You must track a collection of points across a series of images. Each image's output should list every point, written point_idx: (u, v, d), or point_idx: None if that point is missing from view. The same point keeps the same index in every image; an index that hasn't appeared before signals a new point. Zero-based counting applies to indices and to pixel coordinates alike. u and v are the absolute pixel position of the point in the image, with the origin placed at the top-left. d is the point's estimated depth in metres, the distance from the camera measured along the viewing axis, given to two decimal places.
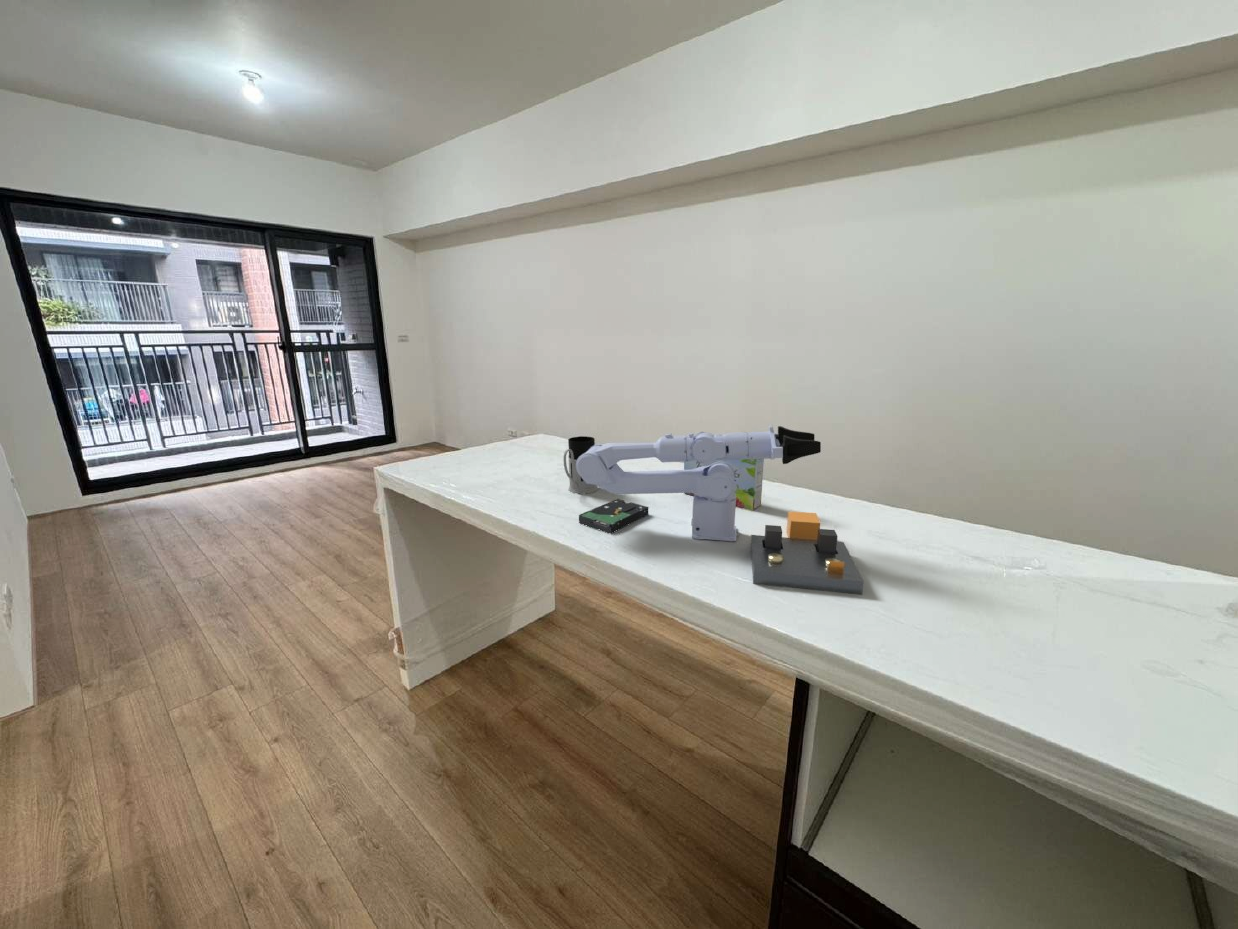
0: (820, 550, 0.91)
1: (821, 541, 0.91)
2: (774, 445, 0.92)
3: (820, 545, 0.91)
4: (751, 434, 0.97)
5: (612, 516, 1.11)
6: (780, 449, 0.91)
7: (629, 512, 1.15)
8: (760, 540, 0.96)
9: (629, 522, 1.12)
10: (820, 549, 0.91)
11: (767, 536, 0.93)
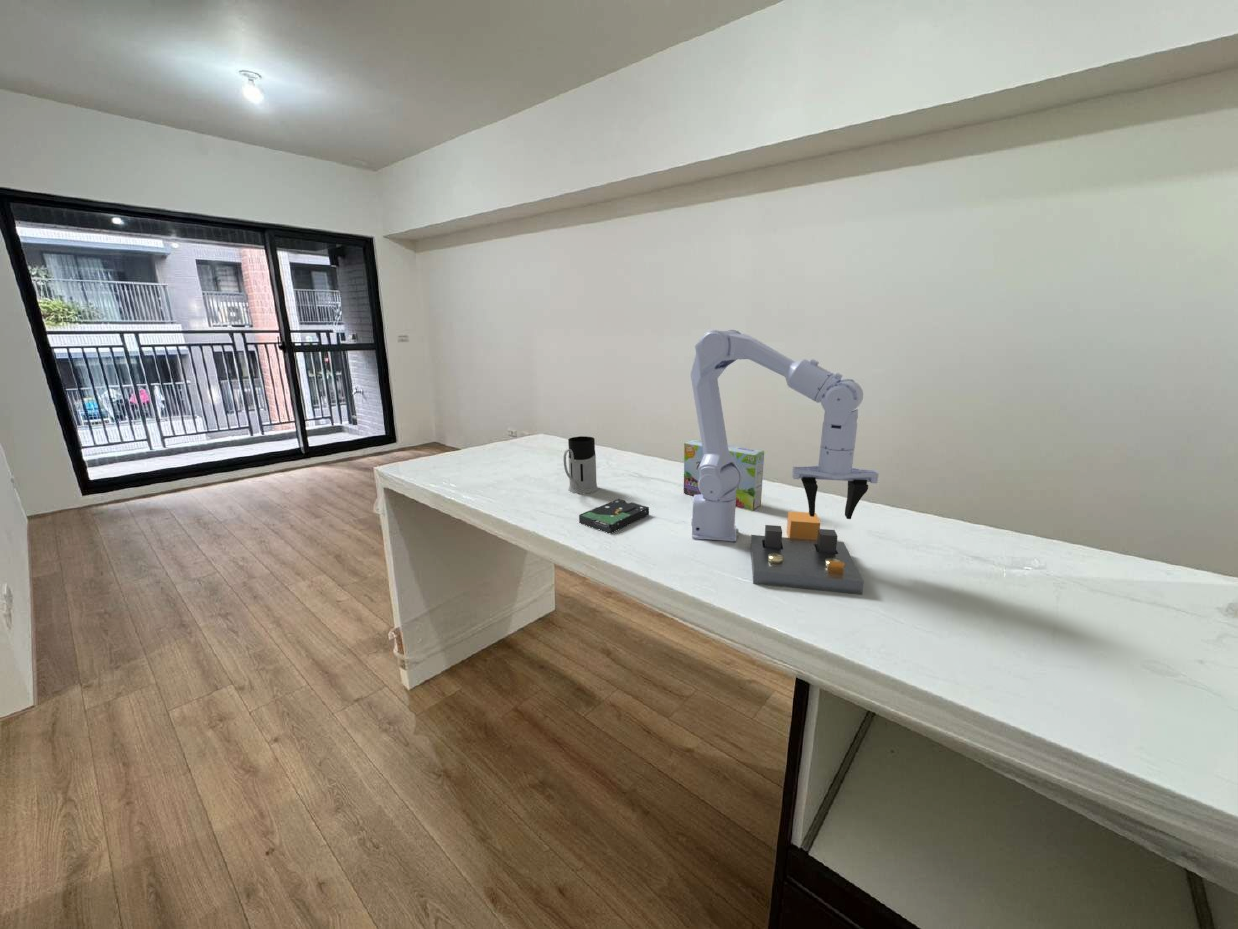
0: (820, 550, 0.91)
1: (821, 541, 0.91)
2: (802, 472, 0.88)
3: (820, 545, 0.91)
4: (832, 453, 0.85)
5: (612, 516, 1.11)
6: (793, 476, 0.89)
7: (629, 512, 1.14)
8: (760, 540, 0.96)
9: (629, 522, 1.12)
10: (820, 549, 0.91)
11: (767, 536, 0.93)
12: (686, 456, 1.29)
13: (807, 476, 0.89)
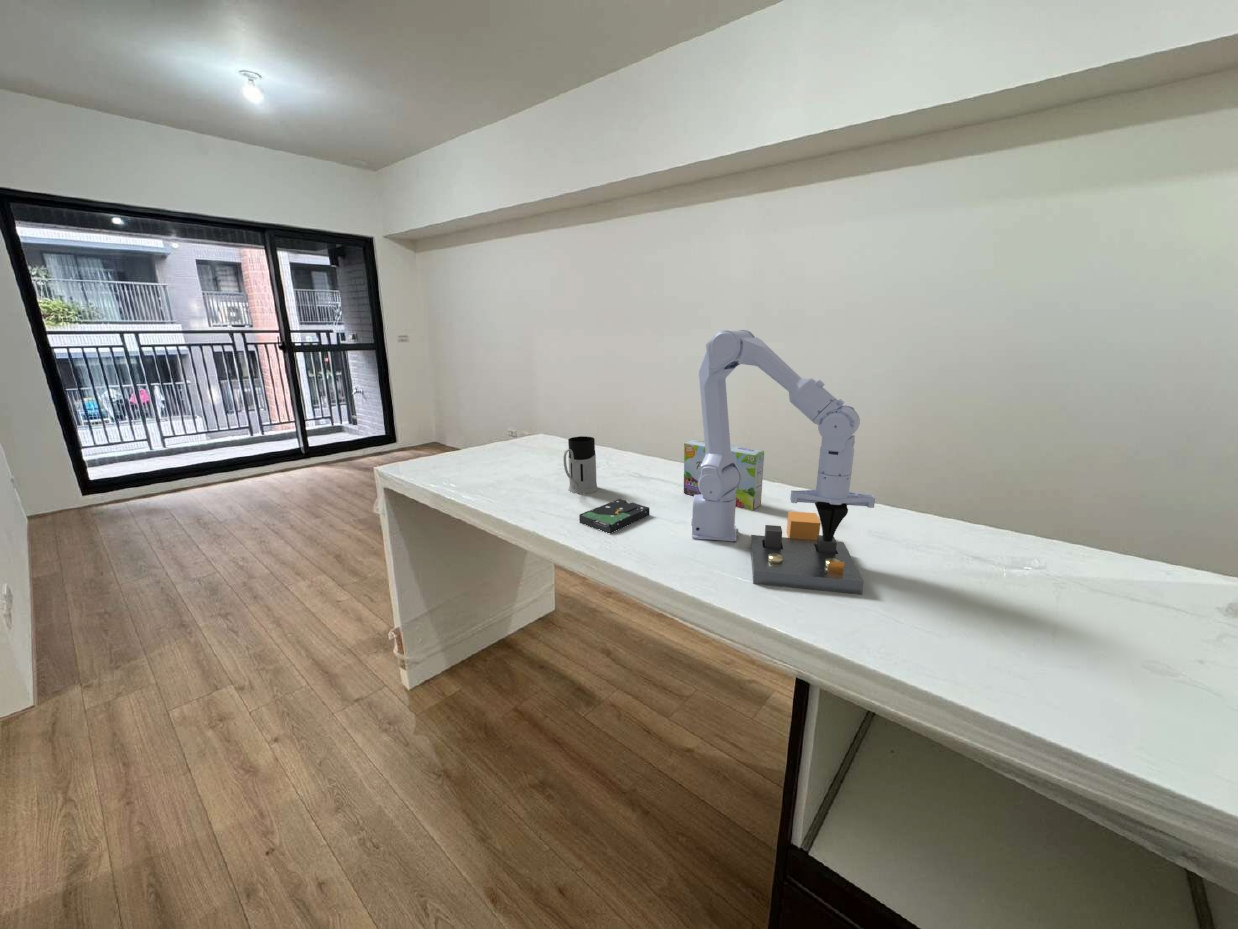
0: None
1: (820, 548, 0.91)
2: (800, 496, 0.90)
3: (819, 551, 0.91)
4: (829, 479, 0.86)
5: (612, 516, 1.11)
6: (791, 500, 0.91)
7: (630, 512, 1.14)
8: (760, 540, 0.96)
9: (629, 522, 1.12)
10: None
11: (767, 536, 0.93)
12: (686, 456, 1.29)
13: (805, 500, 0.90)
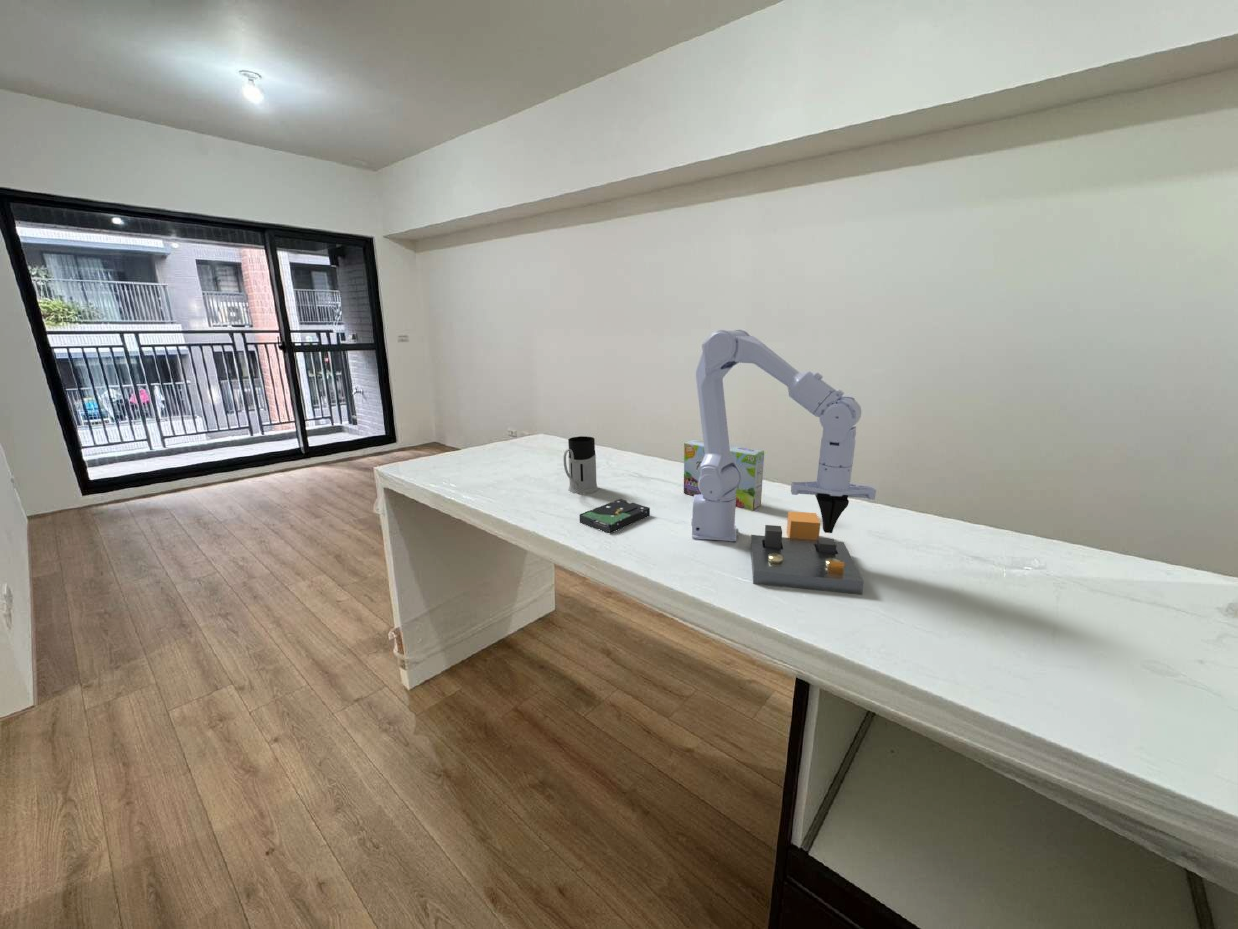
0: None
1: (820, 550, 0.91)
2: (800, 488, 0.89)
3: None
4: (830, 470, 0.86)
5: (612, 516, 1.11)
6: (791, 491, 0.90)
7: (630, 512, 1.14)
8: (760, 540, 0.96)
9: (629, 523, 1.12)
10: None
11: (767, 536, 0.93)
12: (686, 456, 1.29)
13: (805, 492, 0.90)
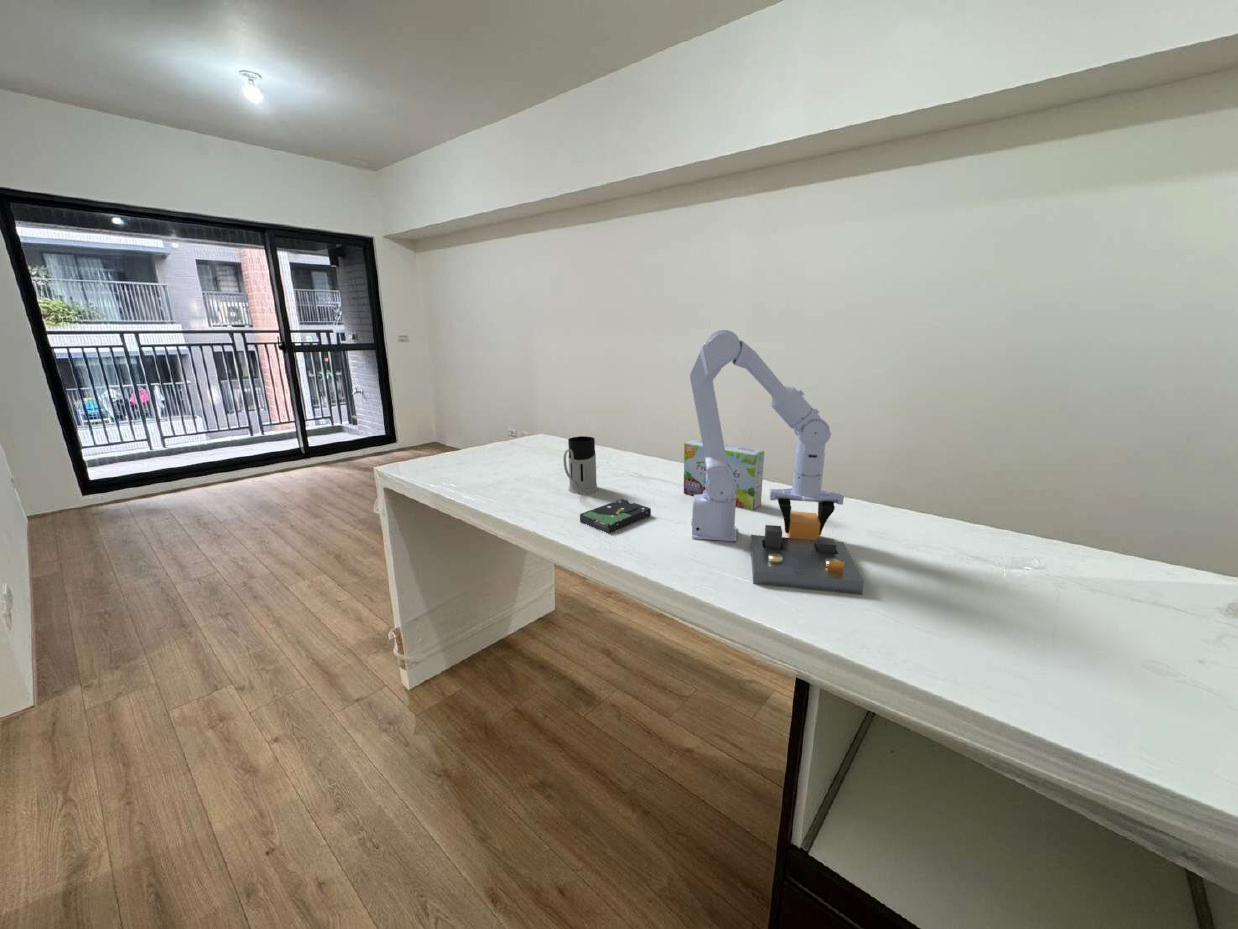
0: None
1: (820, 550, 0.91)
2: (777, 494, 1.00)
3: None
4: (803, 478, 0.97)
5: (612, 516, 1.11)
6: (770, 497, 1.01)
7: (630, 513, 1.14)
8: (760, 540, 0.96)
9: (629, 523, 1.12)
10: None
11: (767, 536, 0.93)
12: (686, 456, 1.29)
13: (782, 497, 1.01)
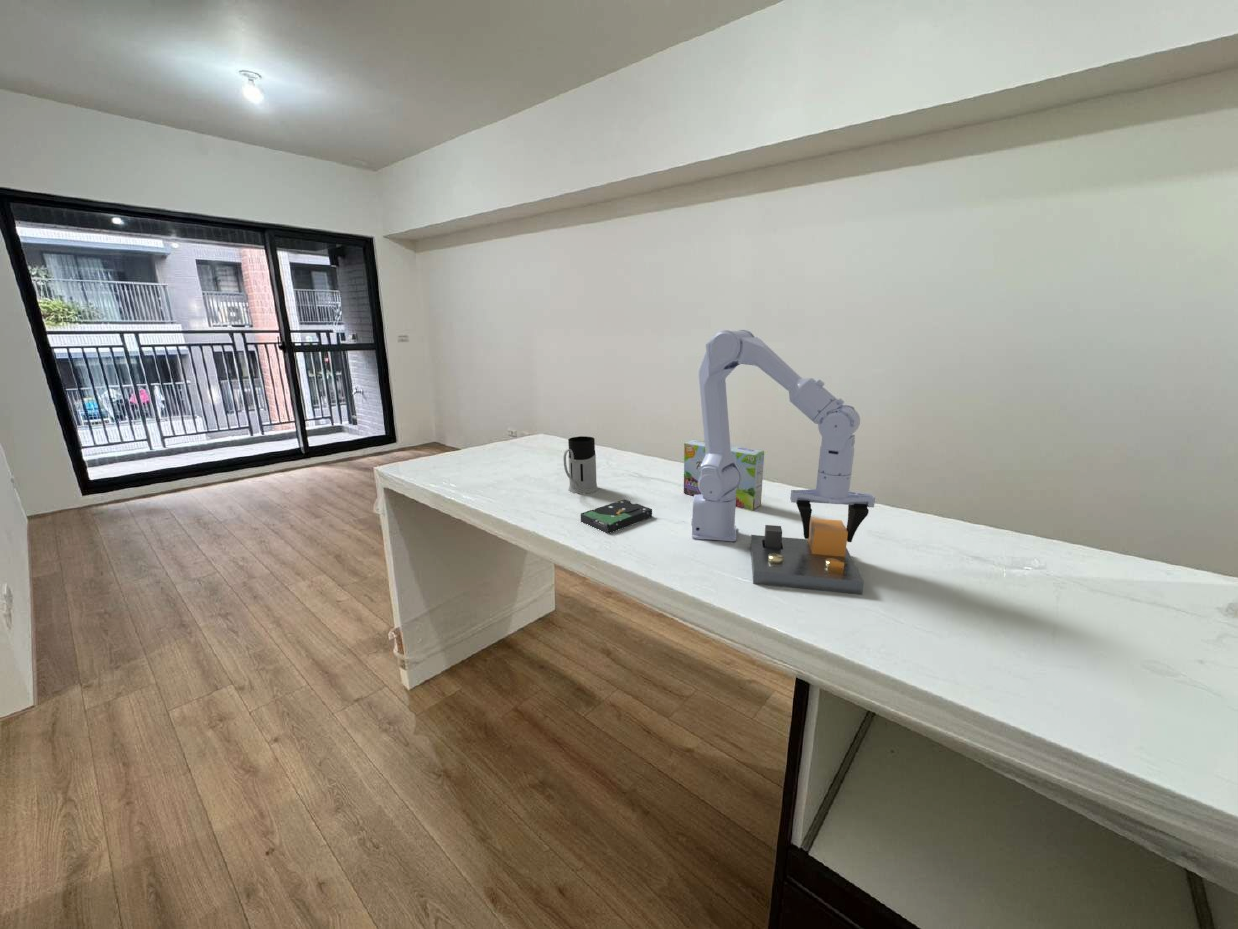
0: None
1: None
2: (800, 496, 0.89)
3: None
4: (829, 478, 0.86)
5: (612, 516, 1.11)
6: (791, 499, 0.91)
7: (631, 513, 1.14)
8: (760, 540, 0.96)
9: (629, 523, 1.11)
10: None
11: (767, 536, 0.93)
12: (686, 456, 1.29)
13: (805, 499, 0.90)
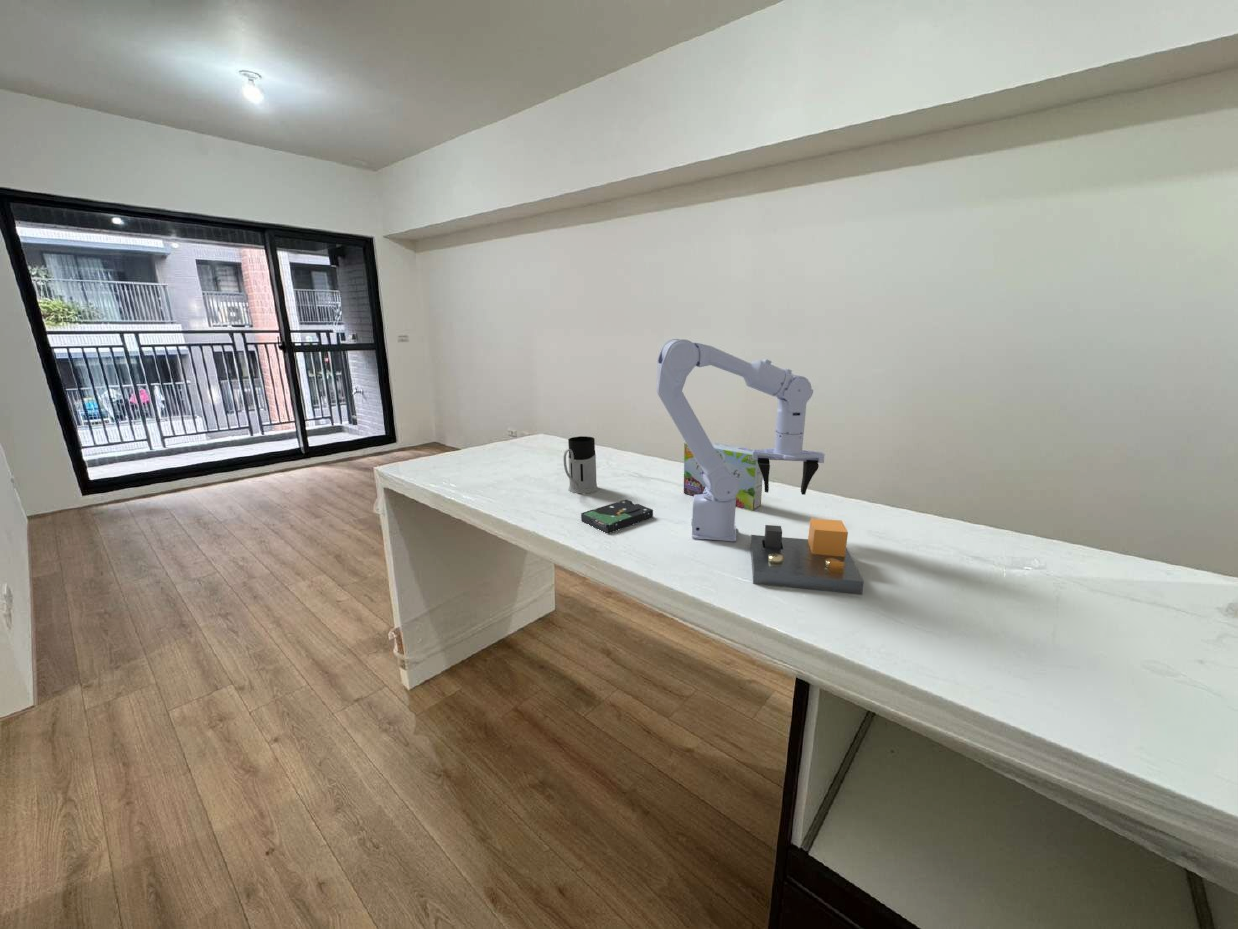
0: None
1: None
2: (760, 454, 1.02)
3: None
4: (784, 437, 0.98)
5: (612, 517, 1.11)
6: (752, 457, 1.03)
7: (632, 513, 1.14)
8: (760, 540, 0.96)
9: (629, 524, 1.11)
10: None
11: (767, 536, 0.93)
12: (686, 456, 1.29)
13: (764, 457, 1.03)
